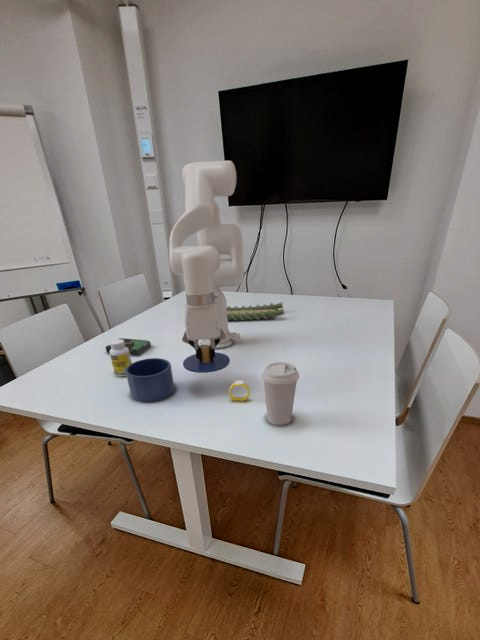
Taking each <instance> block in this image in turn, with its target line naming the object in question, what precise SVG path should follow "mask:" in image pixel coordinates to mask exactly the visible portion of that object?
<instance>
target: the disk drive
mask: <svg viewBox="0 0 480 640" xmlns="http://www.w3.org/2000/svg"><path fill="white" fill-rule="evenodd" d="M118 339H122V340H124V343H125V345H124V346H125V347H127V348H128V349H129V353H130V356H140V355H141V354H143V353H144V352H146V350H148V349H150V348H151V346H152V343H151V341H150V340H147V339H136V338H123V337H121V338H120V337H119V338H118ZM111 349H112V347H111V346H110V344H108V345H106V346H105V351H106V353H108V354H110V350H111Z"/></svg>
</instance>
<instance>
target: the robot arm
mask: <svg viewBox="0 0 480 640" xmlns="http://www.w3.org/2000/svg"><path fill="white" fill-rule="evenodd" d="M181 169H182V170H181V176H182V177H181V178H182V182H183V185H184V189H185V190H184V213H183V214H182V215H181V216H180V217H179V218H178V220H177V221H176V222H175V224H174V226H173V227H172V229H171V232H170V234H169V243H168V244H169V246H168V260H169V261H168V262H169V266H170V270H171V271H172V273H173V274H174V275H176V276H180V277H181V276H182V277H183V282H184V289H185V297H186V303H185V304H184V327H185V331H184V332H183V335H182V338H181V341H182V342H183V343H185V344H188V345H189V346H191V347H192V348H194V350H195V354H196V357H197V359H199V362H202V360H201V351H200V346H201V345H210V355H211V361H213V357H215V352H216V350H217V349H223V348H227V347H230V346H232V344H233V342H234V340H233V339H241V334H240V333H237V332H231V331H230V330H229V323H228V322H229V321H228V320H227V307H228V306H227V297H226V295H225V293H223V291H222V290H221V289H220V288H229V287H230V288H231V287H240V286H241V285H243V283H244V278H245V269H244V247H243V245H244V243H243V234H242V231H241V228H240V226H239V225H237V224H235V223H230V224H229V223H226V224H225V223H224V224H222V223H221V211H220V207H219V204H218V203H217V202H216V201H215V198H217V197H218V198H219V197H231V196H232V195H233V194H234V193H235V189H236V186H237V170H236V167H235V163H234V162H233V161H232V160H211V161H210V160H209V161H195V162H190V163H187V164H185V165H184V166H183V167H182V168H181ZM194 234H196V237H197V238H196V240H197V245H192V246H189V245H188V246H187V245H186V246H182V245H183V243H184V242H185V241H186V240H187V239H188V238H189V237H191V236H192V235H194ZM222 255H224V256H225V255H228V256H230V258H221V256H222ZM199 341H201V345H200V344H199Z"/></svg>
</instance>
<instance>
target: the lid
mask: <svg viewBox="0 0 480 640" xmlns="http://www.w3.org/2000/svg"><path fill="white" fill-rule="evenodd" d="M199 346H200V351H201V360H202V362H199V359H197V357H196V353H194V354H191V355H189V356H188V357H186V358H185V359H184V360H183V362H182V366H183V368H184V369H185V370H187V371H189V372H193V373H197V374H205V373H206V374H208V373H214V372H218V371H221V370H223V369H225V368H227V367H228V366H229V365H230V363H231V359H230V357H229V356H228V355H227V354H226V353H222V352H217V351H215V357H213V361H211V355H210V345H202V344H201V345H199Z"/></svg>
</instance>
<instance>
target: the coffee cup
mask: <svg viewBox="0 0 480 640" xmlns="http://www.w3.org/2000/svg"><path fill="white" fill-rule="evenodd" d="M260 377H261V379H262V381H263V389H264V397H265V408H266V417H267V418H266V419H267V422H269V423H270V424H272V425H274V426H285V425H288V424H289V423H290V422H291V421H292V417H293V410H294V402H295V395H296V390H297V381H298V380H299V379H300V374H299V371H298V370H297V367H296V365H294V364H292V363H290V362H285V361H278V362H277V361H275V362H271V363H269V364H267V365H266V366H265V367H264V369H263V370H262V373H261V375H260Z"/></svg>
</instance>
